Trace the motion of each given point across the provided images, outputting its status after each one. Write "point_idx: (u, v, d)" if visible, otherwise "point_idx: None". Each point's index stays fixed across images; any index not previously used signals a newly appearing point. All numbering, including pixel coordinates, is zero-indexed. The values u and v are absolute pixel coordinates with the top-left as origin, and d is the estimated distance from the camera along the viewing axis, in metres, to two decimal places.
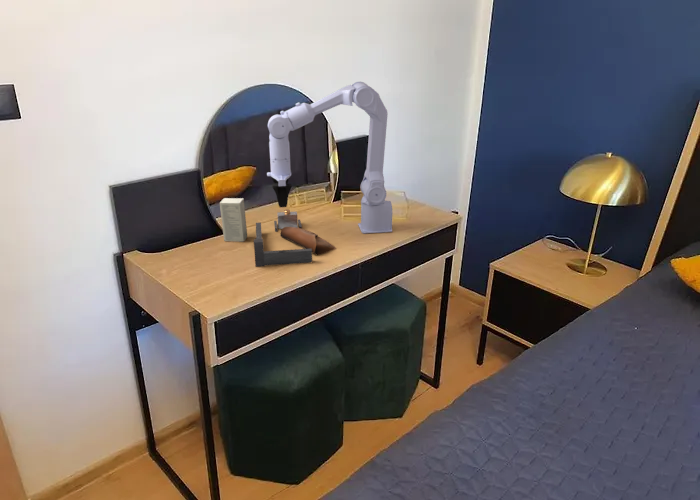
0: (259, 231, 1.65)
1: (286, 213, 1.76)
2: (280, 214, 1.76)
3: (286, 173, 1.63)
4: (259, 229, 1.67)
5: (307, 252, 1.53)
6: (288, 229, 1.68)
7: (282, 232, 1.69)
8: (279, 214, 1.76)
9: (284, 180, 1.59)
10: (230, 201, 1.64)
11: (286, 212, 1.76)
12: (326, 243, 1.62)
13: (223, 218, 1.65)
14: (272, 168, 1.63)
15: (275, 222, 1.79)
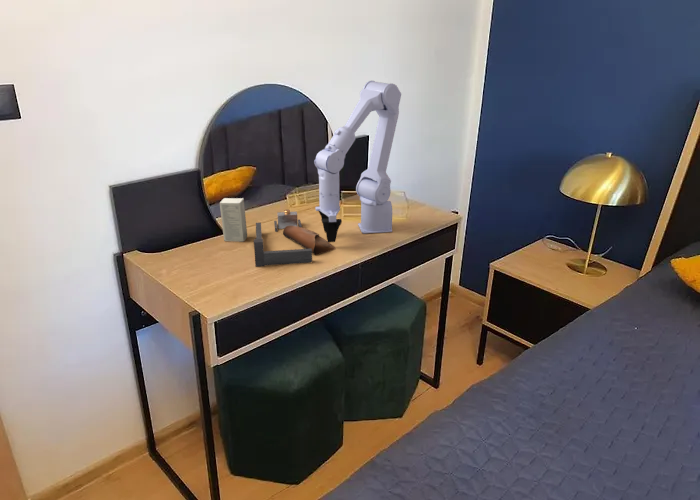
0: (259, 231, 1.65)
1: (286, 213, 1.76)
2: (280, 214, 1.76)
3: (335, 208, 1.61)
4: (259, 229, 1.67)
5: (307, 252, 1.53)
6: (290, 228, 1.69)
7: (284, 231, 1.70)
8: (279, 214, 1.76)
9: (335, 216, 1.57)
10: (230, 201, 1.64)
11: (286, 212, 1.76)
12: (326, 243, 1.62)
13: (223, 218, 1.65)
14: (321, 203, 1.61)
15: (275, 222, 1.79)
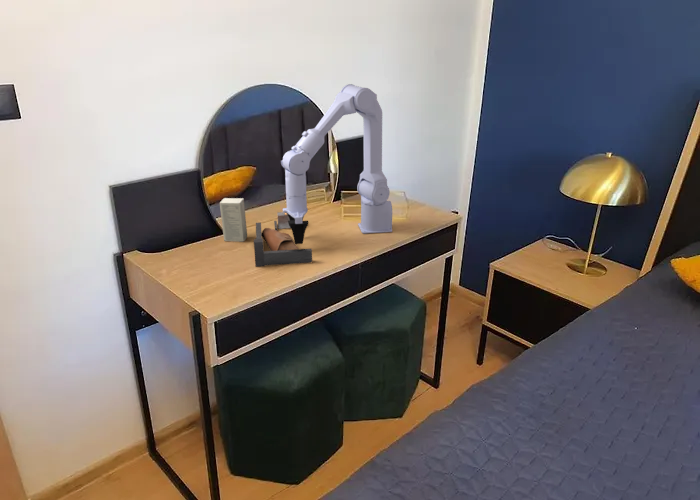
0: (259, 231, 1.65)
1: (286, 213, 1.76)
2: (280, 214, 1.76)
3: (302, 209, 1.60)
4: (259, 229, 1.67)
5: (307, 252, 1.53)
6: (267, 231, 1.67)
7: (262, 233, 1.69)
8: (279, 214, 1.76)
9: (301, 218, 1.55)
10: (230, 201, 1.64)
11: None
12: None
13: (223, 218, 1.65)
14: (288, 204, 1.59)
15: (275, 222, 1.79)
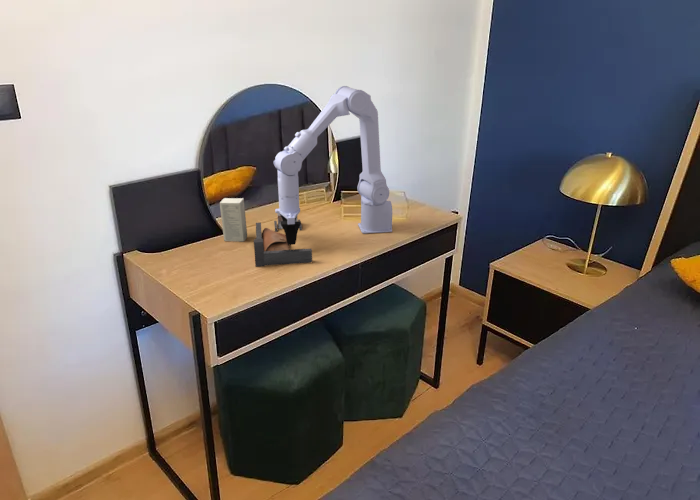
0: (259, 231, 1.65)
1: None
2: None
3: (295, 210, 1.59)
4: (259, 229, 1.67)
5: (307, 252, 1.53)
6: (265, 231, 1.67)
7: (262, 232, 1.69)
8: (279, 214, 1.76)
9: (293, 218, 1.55)
10: (230, 201, 1.64)
11: None
12: None
13: (223, 218, 1.65)
14: (281, 205, 1.59)
15: (275, 222, 1.79)
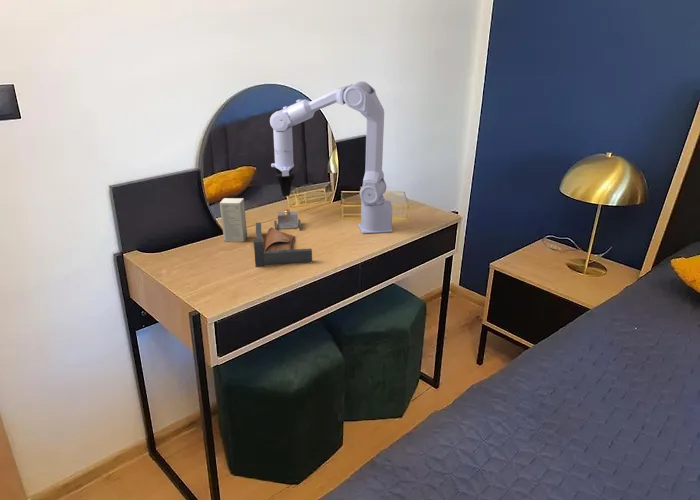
0: (259, 231, 1.65)
1: (286, 213, 1.76)
2: (280, 214, 1.76)
3: (289, 164, 1.75)
4: (259, 229, 1.67)
5: (307, 252, 1.53)
6: (270, 230, 1.67)
7: (268, 232, 1.69)
8: (279, 214, 1.76)
9: (287, 170, 1.71)
10: (230, 201, 1.64)
11: (286, 212, 1.76)
12: None
13: (223, 218, 1.65)
14: (276, 159, 1.74)
15: (275, 222, 1.79)
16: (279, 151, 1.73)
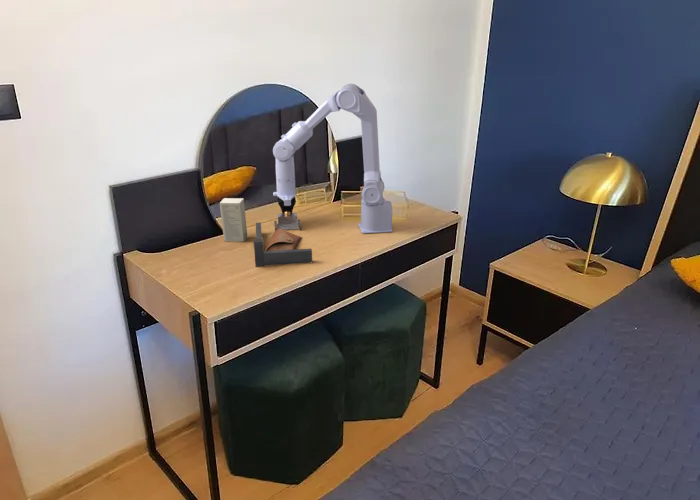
0: (259, 231, 1.65)
1: (286, 214, 1.75)
2: (280, 215, 1.75)
3: (291, 193, 1.74)
4: (259, 229, 1.67)
5: (307, 252, 1.53)
6: (276, 230, 1.67)
7: None
8: (279, 215, 1.75)
9: (289, 200, 1.69)
10: (230, 201, 1.64)
11: (286, 213, 1.74)
12: None
13: (223, 218, 1.65)
14: (278, 188, 1.73)
15: (275, 222, 1.79)
16: (281, 180, 1.71)
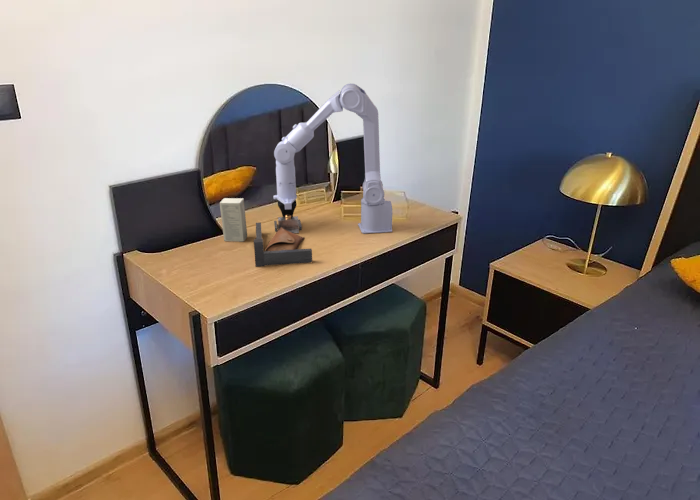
0: (259, 231, 1.65)
1: (287, 218, 1.72)
2: (281, 219, 1.72)
3: (292, 196, 1.71)
4: (259, 229, 1.67)
5: (307, 252, 1.53)
6: (279, 230, 1.67)
7: None
8: (280, 219, 1.72)
9: (290, 204, 1.66)
10: (230, 201, 1.64)
11: (287, 217, 1.72)
12: None
13: (223, 218, 1.65)
14: (278, 191, 1.70)
15: (275, 222, 1.79)
16: (281, 183, 1.69)
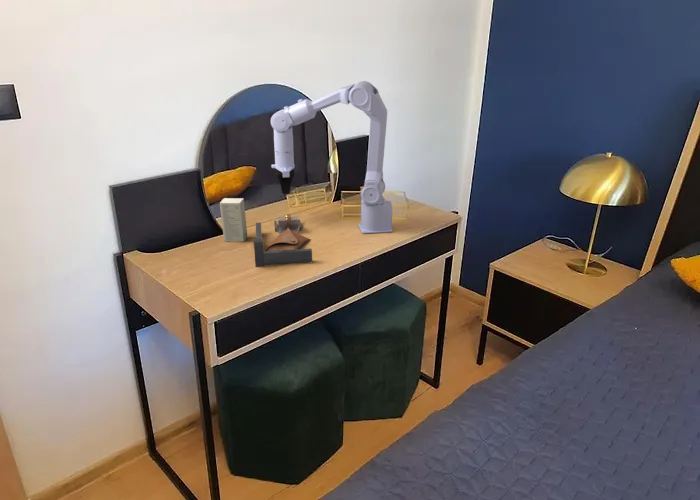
0: (259, 231, 1.65)
1: (287, 218, 1.72)
2: (281, 219, 1.72)
3: (290, 165, 1.72)
4: (259, 229, 1.67)
5: (307, 252, 1.53)
6: (285, 230, 1.67)
7: None
8: (280, 219, 1.72)
9: (288, 171, 1.68)
10: (230, 201, 1.64)
11: (287, 217, 1.72)
12: None
13: (223, 218, 1.65)
14: (276, 160, 1.72)
15: (275, 222, 1.79)
16: (279, 152, 1.70)
